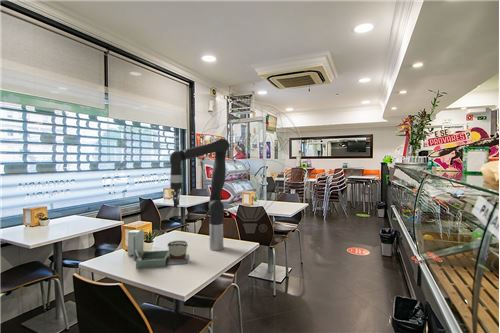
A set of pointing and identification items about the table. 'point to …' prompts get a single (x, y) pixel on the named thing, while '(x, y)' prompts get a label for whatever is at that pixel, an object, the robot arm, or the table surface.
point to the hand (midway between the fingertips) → (176, 206)
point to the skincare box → (132, 241)
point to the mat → (178, 261)
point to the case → (148, 254)
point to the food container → (177, 250)
